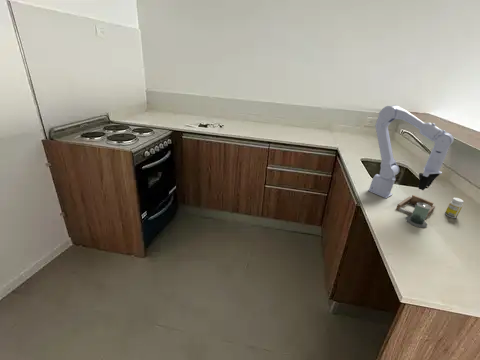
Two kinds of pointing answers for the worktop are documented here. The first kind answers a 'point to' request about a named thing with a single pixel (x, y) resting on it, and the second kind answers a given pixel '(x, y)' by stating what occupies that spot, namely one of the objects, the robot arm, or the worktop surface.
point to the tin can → (420, 213)
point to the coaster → (415, 223)
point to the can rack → (414, 201)
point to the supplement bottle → (454, 207)
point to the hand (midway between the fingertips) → (423, 187)
